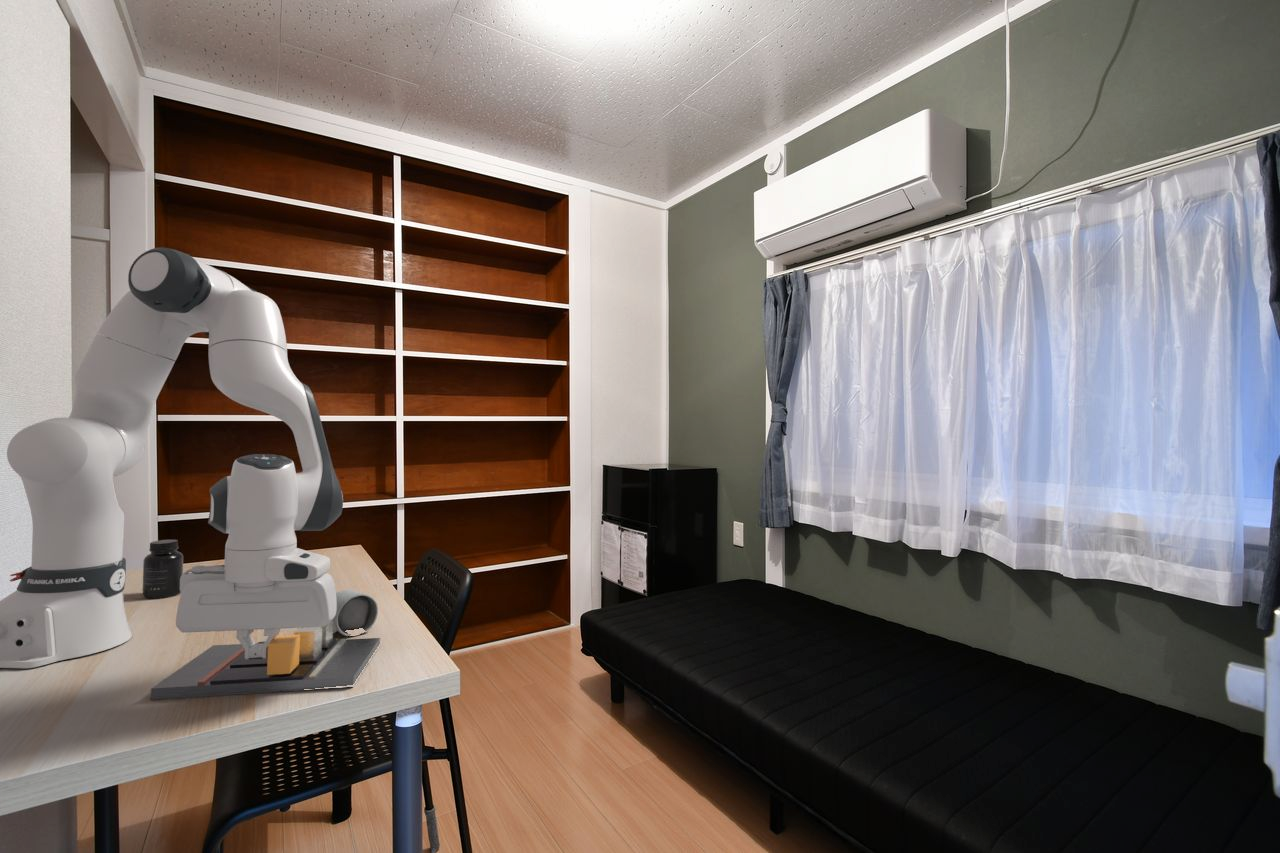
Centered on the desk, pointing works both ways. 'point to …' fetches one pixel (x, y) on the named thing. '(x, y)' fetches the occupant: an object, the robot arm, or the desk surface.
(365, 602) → the ceramic mug
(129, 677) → the desk surface
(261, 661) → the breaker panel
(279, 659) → the toggle
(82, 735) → the desk surface
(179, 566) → the supplement bottle
